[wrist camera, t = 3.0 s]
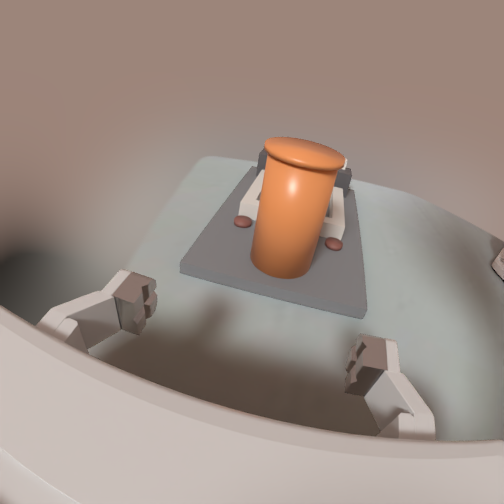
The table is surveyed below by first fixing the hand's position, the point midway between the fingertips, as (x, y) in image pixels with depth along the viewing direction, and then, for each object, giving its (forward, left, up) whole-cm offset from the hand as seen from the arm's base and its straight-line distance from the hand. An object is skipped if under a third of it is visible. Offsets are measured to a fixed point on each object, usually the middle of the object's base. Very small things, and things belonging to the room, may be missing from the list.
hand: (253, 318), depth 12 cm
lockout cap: (-11, -6, -6) cm, 13 cm away
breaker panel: (-18, -10, -7) cm, 21 cm away
